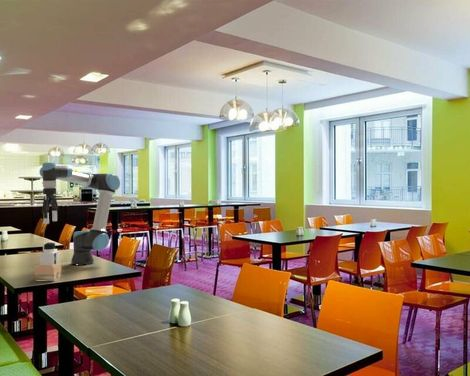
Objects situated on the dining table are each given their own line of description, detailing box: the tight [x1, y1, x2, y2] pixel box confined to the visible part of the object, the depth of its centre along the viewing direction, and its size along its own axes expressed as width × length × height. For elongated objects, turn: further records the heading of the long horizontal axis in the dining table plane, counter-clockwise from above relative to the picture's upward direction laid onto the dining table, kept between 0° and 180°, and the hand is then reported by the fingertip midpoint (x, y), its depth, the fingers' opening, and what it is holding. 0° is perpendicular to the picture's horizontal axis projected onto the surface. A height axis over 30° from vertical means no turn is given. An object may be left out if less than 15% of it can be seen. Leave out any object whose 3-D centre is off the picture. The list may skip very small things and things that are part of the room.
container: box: [39, 242, 59, 266], centre depth 260 cm, size 8×8×13 cm
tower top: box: [34, 262, 62, 276], centre depth 260 cm, size 11×11×4 cm
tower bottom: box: [34, 270, 62, 281], centre depth 260 cm, size 11×11×4 cm
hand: (50, 222), depth 271 cm, fingers open, 13 cm apart
